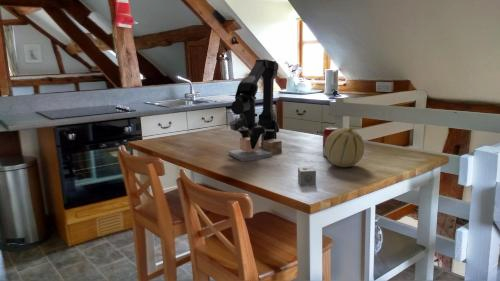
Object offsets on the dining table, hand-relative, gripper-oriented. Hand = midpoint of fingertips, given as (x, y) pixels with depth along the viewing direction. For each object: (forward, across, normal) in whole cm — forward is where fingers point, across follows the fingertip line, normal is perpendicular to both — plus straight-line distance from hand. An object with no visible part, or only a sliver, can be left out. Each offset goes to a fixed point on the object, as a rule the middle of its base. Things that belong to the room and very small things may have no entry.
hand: (249, 147), depth 168 cm
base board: (+4, 0, 0) cm, 4 cm away
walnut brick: (+4, -1, +12) cm, 13 cm away
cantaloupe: (+4, +35, +22) cm, 42 cm away
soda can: (+4, +20, +28) cm, 35 cm away
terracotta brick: (+1, 0, 0) cm, 1 cm away
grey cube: (+4, +44, -2) cm, 44 cm away
